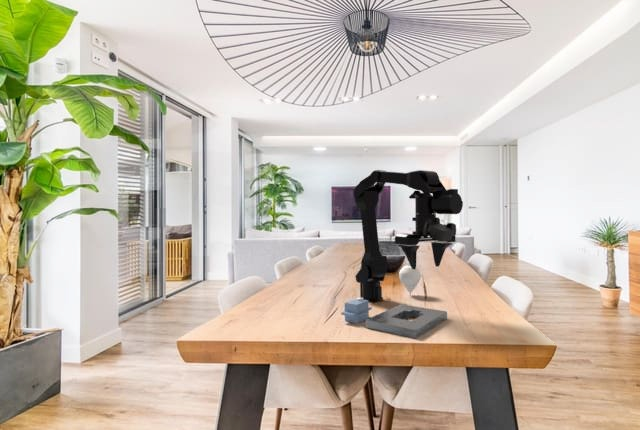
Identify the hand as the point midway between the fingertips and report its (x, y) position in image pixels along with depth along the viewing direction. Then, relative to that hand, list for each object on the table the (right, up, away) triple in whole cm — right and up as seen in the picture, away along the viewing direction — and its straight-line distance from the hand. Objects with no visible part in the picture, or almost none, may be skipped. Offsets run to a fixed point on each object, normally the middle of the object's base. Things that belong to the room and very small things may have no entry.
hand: (425, 267), depth 107 cm
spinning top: (+2, -14, +25) cm, 28 cm away
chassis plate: (-7, -14, -8) cm, 17 cm away
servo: (-20, -14, -4) cm, 25 cm away
